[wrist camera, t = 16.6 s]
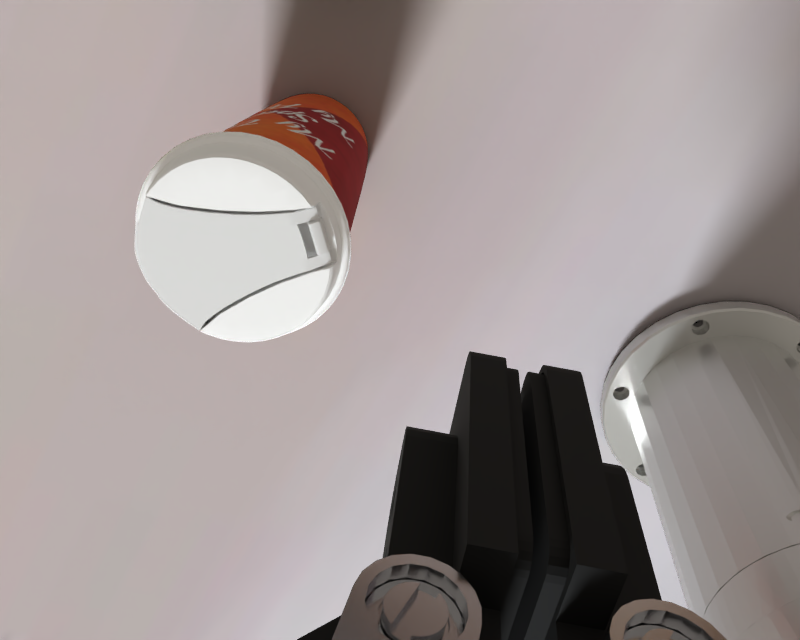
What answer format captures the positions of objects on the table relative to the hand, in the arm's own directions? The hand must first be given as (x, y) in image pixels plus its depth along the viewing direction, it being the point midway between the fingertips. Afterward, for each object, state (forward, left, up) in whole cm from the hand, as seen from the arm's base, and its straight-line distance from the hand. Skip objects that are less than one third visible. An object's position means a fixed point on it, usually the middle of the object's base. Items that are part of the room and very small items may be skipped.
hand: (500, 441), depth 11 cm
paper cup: (+8, +4, -27) cm, 29 cm away
